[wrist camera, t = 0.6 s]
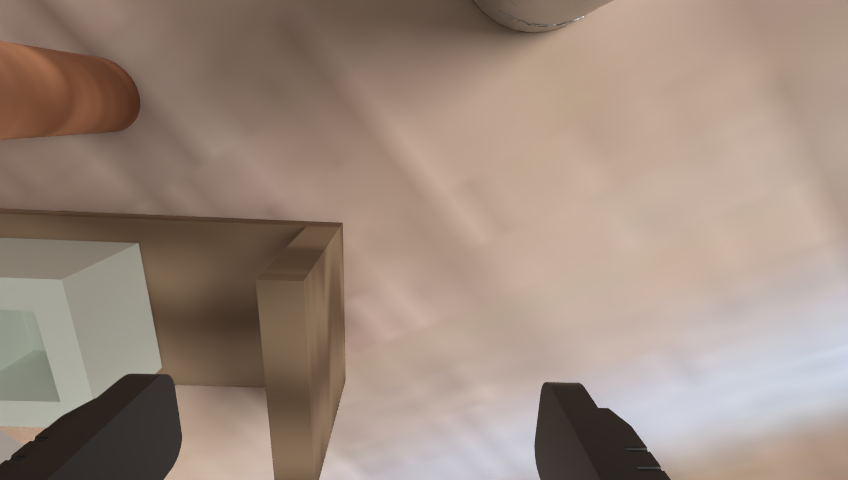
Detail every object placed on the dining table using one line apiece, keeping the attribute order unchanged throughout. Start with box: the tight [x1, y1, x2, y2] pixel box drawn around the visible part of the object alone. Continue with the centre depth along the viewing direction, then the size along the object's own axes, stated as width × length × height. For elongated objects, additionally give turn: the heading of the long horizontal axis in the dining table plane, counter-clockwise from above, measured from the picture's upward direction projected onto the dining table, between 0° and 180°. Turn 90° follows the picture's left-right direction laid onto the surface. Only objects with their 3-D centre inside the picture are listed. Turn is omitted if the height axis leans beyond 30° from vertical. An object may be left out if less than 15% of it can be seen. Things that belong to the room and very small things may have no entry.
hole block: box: [0, 238, 162, 428], centre depth 23 cm, size 9×9×6 cm
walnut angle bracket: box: [0, 209, 345, 480], centre depth 22 cm, size 12×25×9 cm, turn 87°
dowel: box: [0, 41, 140, 140], centre depth 18 cm, size 4×4×10 cm
